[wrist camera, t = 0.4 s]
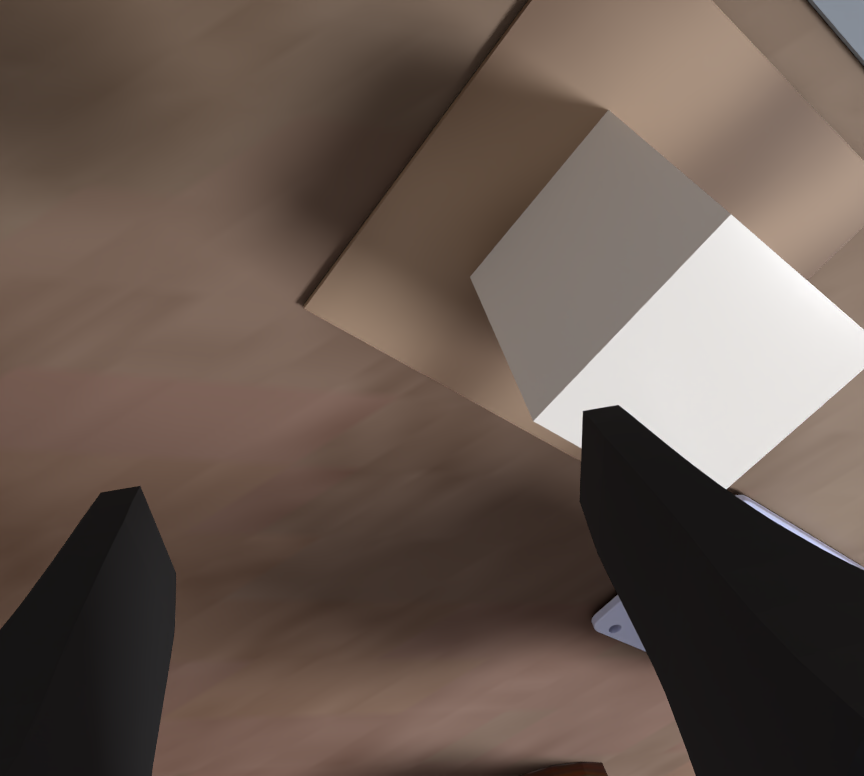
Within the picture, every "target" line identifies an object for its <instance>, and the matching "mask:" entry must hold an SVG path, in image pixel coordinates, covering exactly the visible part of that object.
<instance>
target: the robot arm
mask: <svg viewBox="0 0 864 776" xmlns="http://www.w3.org/2000/svg"><path fill="white" fill-rule="evenodd" d="M580 503H581V506H582V509H583V512H584V515H585V518H586V521H587V524H588V527H589V530H590V533H591V536H592V539H593V541H594V544H595V547H596V550H597V553H598V555H599V557H600V559H601V561H602V563H603V566H604V568H605V570H606V572H607V574H608V576H609V578H610V580H611V582H612V584H613V586H614V588H615V590H616V592H617V594H618V595H617V596H615V597H614V598H613V599H612V600H611V601H610V602H609V603H607V604H606V605H605V606H604V607H603V608H602V609H600V610H599V611H598V612H597V613H596V614H595V615H594V616H593V617H592V624H593V626H594V629H595V630H596V631H597V632H599V633H602V634H604V635H607V636H609V637H612V638H614V639H616V640H619V641H621V642H624V643H626V644H628V645H631V646H633V647H636V648H638V649H641V650H643V651H645V652H647V654H648V656H649V658H650V660H651V662H652V664H653V666H654V669H655V671H656V673H657V675H658V678H659V680H660V682H661V684H662V687H663V689H664V691H665V694H666V696H667V699H668V701H669V704H670V707H671V709H672V712H673V715H674V717H675V720H676V723H677V725H678V728H679V731H680V733H681V736H682V739H683V741H684V744H685V747H686V749H687V752H688V755H689V758H690V760H691V763H692V766H693V769H694V772H695V774H696V776H864V567H862V566H860V565H859V564H857V563H856V562H854V561H852V560H851V559H849V558H847V557H846V556H844V555H842V554H841V553H839V552H837V551H836V550H834V549H832V548H831V547H829V546H828V545H826V544H824V543H823V542H821V541H819V540H818V539H816V538H814V537H813V536H811V535H809V534H808V533H806V532H804V531H803V530H801V529H800V528H798V527H796V526H795V525H793V524H791V523H790V522H788V521H786V520H785V519H783V518H781V517H780V516H778V515H776V514H775V513H773V512H772V511H770V510H768V509H767V508H765V507H763V506H762V505H760V504H758V503H757V502H755V501H753V500H752V499H750V498H749V497H747V496H745V495H733V494H732V493H731V492H729V491H728V490H726V489H725V488H723V487H722V486H721V485H719V484H718V483H717V482H715V481H714V480H713V479H711V478H710V477H709V476H707V475H706V474H705V473H703V472H702V471H701V470H699V469H698V468H697V467H695V466H694V465H693V464H691V463H690V462H689V461H687V460H686V459H685V458H684V457H682V456H681V455H680V454H679V453H677V452H676V451H675V450H674V449H672V448H671V447H670V446H669V445H667V444H666V443H665V442H664V441H662V440H661V439H660V438H659V437H657V436H656V435H655V434H654V433H653V432H651V431H650V430H649V429H648V428H646V427H645V426H644V425H643V424H642V423H640V422H639V421H638V420H637V419H636V418H634V417H633V416H632V415H631V414H629V413H628V412H627V411H626V410H624V409H623V408H622V407H621V406H619V405H615V406H609V407H603V408H597V409H591V410H585V411H583V419H582V448H581V478H580ZM175 603H176V572H175V570H174V567H173V565H172V562H171V560H170V557H169V555H168V553H167V550H166V548H165V545H164V543H163V540H162V538H161V536H160V533H159V531H158V528H157V526H156V523H155V521H154V518H153V516H152V514H151V511H150V509H149V506H148V504H147V501H146V499H145V497H144V494H143V492H142V489H141V487H140V486H138V487H132V488H126V489H120V490H114V491H108V492H102V493H101V494H100V495H99V496H98V498H97V499H96V500H95V502H94V503H93V504H92V506H91V507H90V508H89V510H88V511H87V513H86V514H85V515H84V517H83V518H82V520H81V521H80V523H79V524H78V525H77V527H76V528H75V530H74V531H73V533H72V534H71V536H70V537H69V538H68V540H67V541H66V543H65V544H64V546H63V547H62V548H61V550H60V551H59V553H58V554H57V555H56V557H55V558H54V560H53V561H52V563H51V564H50V565H49V567H48V568H47V569H46V571H45V572H44V573H43V575H42V576H41V578H40V579H39V580H38V582H37V583H36V584H35V586H34V587H33V588H32V590H31V591H30V592H29V594H28V595H27V597H26V598H25V599H24V601H23V602H22V603H21V605H20V606H19V607H18V608H17V610H16V611H15V612H14V614H13V615H12V616H11V617H10V619H9V620H8V621H7V622H6V623H5V625H4V626H3V627H2V628H1V630H0V776H152V768H153V762H154V755H155V749H156V743H157V737H158V731H159V725H160V719H161V713H162V707H163V701H164V695H165V689H166V683H167V677H168V670H169V664H170V658H171V651H172V645H173V638H174V628H175Z"/></svg>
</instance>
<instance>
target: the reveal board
mask: <svg viewBox="0 0 864 776" xmlns="http://www.w3.org/2000/svg"><path fill="white" fill-rule="evenodd" d="M608 110H609V111H611V112H612V113H613V114H614V115H615V116H616V117H618V118H619V119H620V120H621V121H622V122H623V123H625V124H626V125H627V126H628V127H629V128H630V129H632V130H633V131H634V132H635V133H636V134H638V135H639V136H640V137H641V138H642V139H643V140H645V141H646V142H647V143H648V144H649V145H650V146H652V147H653V148H654V149H655V150H656V151H657V152H659V153H660V154H661V155H662V156H663V157H665V158H666V159H667V160H668V161H669V162H670V163H672V164H673V165H674V166H675V167H676V168H677V169H679V170H680V171H681V172H682V173H683V174H684V175H686V176H687V177H688V178H689V179H690V180H691V181H693V182H694V183H695V184H696V185H697V186H699V187H700V188H701V189H702V190H703V191H704V192H706V193H707V194H708V195H709V196H710V197H711V198H713V199H714V200H715V201H716V202H717V203H718V204H720V205H721V206H722V207H723V208H724V209H726V210H727V211H728V212H729V213H730V214H731V215H733V216H734V217H735V218H736V219H737V220H738V221H739V222H741V223H742V224H743V225H744V226H745V227H746V228H747V229H749V230H750V231H751V232H752V233H753V234H754V235H755V236H757V237H758V238H759V239H760V240H761V241H762V242H763V243H765V244H766V245H767V246H768V247H769V248H770V249H772V250H773V251H774V252H775V253H776V254H777V255H778V256H780V257H781V258H782V259H783V260H784V261H785V262H786V263H788V264H789V265H790V266H791V267H792V268H793V269H794V270H796V271H797V272H798V273H799V274H800V275H801V276H803V277H804V278H805V279H806V280H808V279H809V278H810V277H812V276H813V275H814V274H815V273H816V272H817V271H818V270H819V269H820V268H821V267H822V266H823V265H824V264H825V263H826V262H827V261H828V260H829V259H830V258H831V257H832V256H833V255H835V254H836V253H837V252H838V251H839V250H840V249H841V248H842V247H843V246H844V245H845V244H846V243H847V242H848V241H849V240H850V239H851V238H852V237H853V236H854V235H855V234H856V233H857V232H859V231H860V230H861V229H862V228H863V227H864V161H863V160H862V159H861V158H860V157H859V156H858V155H857V154H856V152H855V151H854V150H853V149H852V148H851V147H850V146H849V145H848V144H847V143H846V142H845V141H844V140H843V139H842V138H841V137H840V136H839V134H838V133H837V132H836V131H835V130H834V129H833V128H832V127H831V126H830V125H829V124H828V123H827V122H826V121H825V120H824V119H823V118H822V116H821V115H820V114H819V113H818V112H817V111H816V110H815V109H814V108H813V107H812V106H811V105H810V104H809V103H808V102H807V101H806V100H805V98H804V97H803V96H802V95H801V94H800V93H799V92H798V91H797V90H796V89H795V88H794V87H793V86H792V85H791V84H790V83H789V82H788V80H787V79H786V78H785V77H784V76H783V75H782V74H781V73H780V72H779V71H778V70H777V69H776V68H775V67H774V66H773V65H772V64H771V62H770V61H769V60H768V59H767V58H766V57H765V56H764V55H763V54H762V53H761V52H760V51H759V50H758V49H757V48H756V47H755V46H754V44H753V43H752V42H751V41H750V40H749V39H748V38H747V37H746V36H745V35H744V34H743V33H742V32H741V31H740V30H739V29H738V28H737V26H736V25H735V24H734V23H733V22H732V21H731V20H730V19H729V18H728V17H727V16H726V15H725V14H724V13H723V12H722V11H721V10H720V8H719V7H718V6H717V5H716V4H715V3H714V2H713V1H712V0H528V1H527V3H526V4H525V5H524V7H523V8H522V10H521V11H520V12H519V14H518V15H517V16H516V18H515V19H514V20H513V22H512V23H511V24H510V26H509V27H508V29H507V30H506V31H505V33H504V34H503V35H502V37H501V38H500V39H499V41H498V42H497V43H496V45H495V46H494V48H493V49H492V50H491V52H490V53H489V54H488V56H487V57H486V58H485V60H484V61H483V62H482V64H481V65H480V67H479V68H478V69H477V71H476V72H475V73H474V75H473V76H472V77H471V79H470V80H469V81H468V83H467V84H466V86H465V87H464V88H463V90H462V91H461V92H460V94H459V95H458V96H457V98H456V99H455V100H454V102H453V103H452V105H451V106H450V107H449V109H448V110H447V111H446V113H445V114H444V115H443V117H442V118H441V119H440V121H439V122H438V124H437V125H436V126H435V128H434V129H433V130H432V132H431V133H430V134H429V136H428V137H427V138H426V140H425V141H424V143H423V144H422V145H421V147H420V148H419V149H418V151H417V152H416V153H415V155H414V156H413V157H412V159H411V160H410V162H409V163H408V164H407V166H406V167H405V168H404V170H403V171H402V172H401V174H400V175H399V176H398V178H397V179H396V181H395V182H394V183H393V185H392V186H391V187H390V189H389V190H388V191H387V193H386V194H385V195H384V197H383V198H382V200H381V201H380V202H379V204H378V205H377V206H376V208H375V209H374V210H373V212H372V213H371V214H370V216H369V217H368V219H367V220H366V221H365V223H364V224H363V225H362V227H361V228H360V229H359V231H358V232H357V233H356V235H355V236H354V238H353V239H352V240H351V242H350V243H349V244H348V246H347V247H346V248H345V250H344V251H343V252H342V254H341V255H340V257H339V258H338V259H337V261H336V262H335V263H334V265H333V266H332V267H331V269H330V270H329V271H328V273H327V274H326V276H325V277H324V278H323V280H322V281H321V282H320V284H319V285H318V286H317V288H316V289H315V290H314V292H313V293H312V295H311V296H310V297H309V299H308V300H307V301H306V303H305V304H304V309H305V310H307V311H309V312H311V313H313V314H314V315H316V316H318V317H320V318H322V319H323V320H325V321H327V322H329V323H331V324H333V325H334V326H336V327H338V328H340V329H342V330H343V331H345V332H347V333H349V334H351V335H352V336H354V337H356V338H358V339H360V340H362V341H363V342H365V343H367V344H369V345H371V346H372V347H374V348H376V349H378V350H380V351H381V352H383V353H385V354H387V355H389V356H391V357H392V358H394V359H396V360H398V361H400V362H401V363H403V364H405V365H407V366H409V367H410V368H412V369H414V370H416V371H418V372H420V373H421V374H423V375H425V376H427V377H429V378H430V379H432V380H434V381H436V382H438V383H439V384H441V385H443V386H445V387H447V388H449V389H450V390H452V391H454V392H456V393H458V394H459V395H461V396H463V397H465V398H467V399H468V400H470V401H472V402H474V403H476V404H477V405H479V406H481V407H483V408H485V409H487V410H488V411H490V412H492V413H494V414H496V415H497V416H499V417H501V418H503V419H505V420H506V421H508V422H510V423H512V424H514V425H516V426H517V427H519V428H521V429H523V430H525V431H526V432H528V433H530V434H532V435H534V436H535V437H537V438H539V439H541V440H543V441H545V442H546V443H548V444H550V445H552V446H554V447H555V448H557V449H559V450H561V451H563V452H564V453H566V454H568V455H570V456H572V457H574V458H575V459H577V460H579V461H581V448H580V447H578V446H576V445H575V444H573V443H571V442H569V441H567V440H566V439H564V438H562V437H560V436H559V435H557V434H555V433H553V432H551V431H550V430H548V429H546V428H544V427H543V426H541V425H539V424H537V423H535V422H534V421H533V420H532V417H531V415H530V413H529V410H528V408H527V406H526V404H525V401H524V399H523V397H522V394H521V392H520V390H519V388H518V385H517V383H516V381H515V379H514V376H513V374H512V372H511V369H510V367H509V365H508V363H507V360H506V358H505V356H504V353H503V351H502V349H501V347H500V344H499V342H498V340H497V338H496V335H495V333H494V331H493V328H492V326H491V324H490V322H489V319H488V317H487V315H486V313H485V310H484V308H483V306H482V303H481V301H480V299H479V297H478V294H477V292H476V290H475V287H474V285H473V283H472V281H471V278H470V276H471V275H472V274H473V273H474V271H475V270H476V269H477V268H478V267H479V265H480V264H481V263H482V262H483V261H484V259H485V258H486V257H487V256H488V255H489V253H490V252H491V251H492V250H493V249H494V247H495V246H496V245H497V244H498V242H499V241H500V240H501V239H502V238H503V236H504V235H505V234H506V233H507V232H508V230H509V229H510V228H511V227H512V226H513V224H514V223H515V222H516V221H517V220H518V218H519V217H520V216H521V215H522V214H523V212H524V211H525V210H526V209H527V208H528V206H529V205H530V204H531V203H532V201H533V200H534V199H535V198H536V197H537V195H538V194H539V193H540V192H541V191H542V189H543V188H544V187H545V186H546V185H547V183H548V182H549V181H550V180H551V179H552V177H553V176H554V175H555V174H556V173H557V171H558V170H559V169H560V168H561V166H562V165H563V164H564V163H565V162H566V160H567V159H568V158H569V157H570V156H571V154H572V153H573V152H574V151H575V150H576V148H577V147H578V146H579V145H580V144H581V142H582V141H583V140H584V139H585V138H586V136H587V135H588V134H589V133H590V131H591V130H592V129H593V128H594V127H595V125H596V124H597V123H598V122H599V121H600V119H601V118H602V117H603V116H604V115H605V113H606V112H607V111H608Z"/></svg>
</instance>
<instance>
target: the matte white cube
mask: <svg viewBox="0 0 864 776" xmlns="http://www.w3.org/2000/svg"><path fill="white" fill-rule="evenodd" d="M470 278H471V281H472V283H473V285H474V287H475V290H476V292H477V294H478V297H479V299H480V301H481V303H482V306H483V308H484V310H485V313H486V315H487V317H488V319H489V322H490V324H491V326H492V328H493V331H494V333H495V335H496V338H497V340H498V342H499V344H500V347H501V349H502V351H503V353H504V356H505V358H506V360H507V363H508V365H509V367H510V369H511V372H512V374H513V376H514V379H515V381H516V383H517V385H518V388H519V390H520V392H521V394H522V397H523V399H524V401H525V404H526V406H527V408H528V410H529V413H530V415H531V417H532V420H533V421H534V422H535V423H537V424H539V425H541V426H543V427H544V428H546V429H548V430H550V431H551V432H553V433H555V434H557V435H559V436H560V437H562V438H564V439H566V440H567V441H569V442H571V443H573V444H575V445H576V446H578V447H580V448H582V419H583V411H585V410H591V409H597V408H603V407H609V406H615V405H619V406H621V407H622V408H623V409H624V410H626V411H627V412H628V413H629V414H631V415H632V416H633V417H634V418H636V419H637V420H638V421H639V422H640V423H642V424H643V425H644V426H645V427H646V428H648V429H649V430H650V431H651V432H653V433H654V434H655V435H656V436H657V437H659V438H660V439H661V440H662V441H664V442H665V443H666V444H667V445H669V446H670V447H671V448H672V449H674V450H675V451H676V452H677V453H679V454H680V455H681V456H682V457H684V458H685V459H686V460H687V461H689V462H690V463H691V464H693V465H694V466H695V467H697V468H698V469H699V470H701V471H702V472H703V473H705V474H706V475H707V476H709V477H710V478H711V479H713V480H714V481H715V482H717V483H718V484H719V485H721V486H722V487H723V488H725V489H727V488H728V487H729V486H730V485H732V484H733V483H734V482H735V481H736V480H737V479H738V478H740V477H741V476H742V475H743V474H744V473H745V472H746V471H748V470H749V469H750V468H751V467H752V466H753V465H754V464H756V463H757V462H758V461H759V460H760V459H761V458H762V457H764V456H765V455H766V454H767V453H768V452H769V451H770V450H772V449H773V448H774V447H775V446H776V445H777V444H778V443H780V442H781V441H782V440H783V439H784V438H785V437H786V436H788V435H789V434H790V433H791V432H792V431H793V430H794V429H796V428H797V427H798V426H799V425H800V424H801V423H803V422H804V421H805V420H806V419H807V418H808V417H809V416H811V415H812V414H813V413H814V412H815V411H816V410H817V409H819V408H820V407H821V406H822V405H823V404H824V403H825V402H827V401H828V400H829V399H830V398H831V397H832V396H833V395H835V394H836V393H837V392H838V391H839V390H840V389H841V388H843V387H844V386H845V385H846V384H847V383H848V382H849V381H851V380H852V379H853V378H854V377H855V376H856V375H857V374H859V373H860V372H861V371H862V370H863V369H864V330H863V329H862V328H861V327H860V326H859V325H858V324H856V323H855V322H854V321H853V320H852V319H851V318H850V317H848V316H847V315H846V314H845V313H844V312H843V311H842V310H840V309H839V308H838V307H837V306H836V305H835V304H834V303H832V302H831V301H830V300H829V299H828V298H827V297H825V296H824V295H823V294H822V293H821V292H820V291H819V290H817V289H816V288H815V287H814V286H813V285H812V284H811V283H809V282H808V281H807V280H806V279H805V278H804V277H803V276H801V275H800V274H799V273H798V272H797V271H796V270H794V269H793V268H792V267H791V266H790V265H789V264H788V263H786V262H785V261H784V260H783V259H782V258H781V257H780V256H778V255H777V254H776V253H775V252H774V251H773V250H772V249H770V248H769V247H768V246H767V245H766V244H765V243H763V242H762V241H761V240H760V239H759V238H758V237H757V236H755V235H754V234H753V233H752V232H751V231H750V230H749V229H747V228H746V227H745V226H744V225H743V224H742V223H741V222H739V221H738V220H737V219H736V218H735V217H734V216H733V215H731V214H730V213H729V212H728V211H727V210H726V209H724V208H723V207H722V206H721V205H720V204H718V203H717V202H716V201H715V200H714V199H713V198H711V197H710V196H709V195H708V194H707V193H706V192H704V191H703V190H702V189H701V188H700V187H699V186H697V185H696V184H695V183H694V182H693V181H691V180H690V179H689V178H688V177H687V176H686V175H684V174H683V173H682V172H681V171H680V170H679V169H677V168H676V167H675V166H674V165H673V164H672V163H670V162H669V161H668V160H667V159H666V158H665V157H663V156H662V155H661V154H660V153H659V152H657V151H656V150H655V149H654V148H653V147H652V146H650V145H649V144H648V143H647V142H646V141H645V140H643V139H642V138H641V137H640V136H639V135H638V134H636V133H635V132H634V131H633V130H632V129H630V128H629V127H628V126H627V125H626V124H625V123H623V122H622V121H621V120H620V119H619V118H618V117H616V116H615V115H614V114H613V113H612V112H611V111H609V110H608V111H607V112H606V113H605V115H604V116H603V117H602V118H601V119H600V121H599V122H598V123H597V124H596V125H595V127H594V128H593V129H592V130H591V131H590V133H589V134H588V135H587V136H586V138H585V139H584V140H583V141H582V142H581V144H580V145H579V146H578V147H577V148H576V150H575V151H574V152H573V153H572V154H571V156H570V157H569V158H568V159H567V160H566V162H565V163H564V164H563V165H562V166H561V168H560V169H559V170H558V171H557V173H556V174H555V175H554V176H553V177H552V179H551V180H550V181H549V182H548V183H547V185H546V186H545V187H544V188H543V189H542V191H541V192H540V193H539V194H538V195H537V197H536V198H535V199H534V200H533V201H532V203H531V204H530V205H529V206H528V208H527V209H526V210H525V211H524V212H523V214H522V215H521V216H520V217H519V218H518V220H517V221H516V222H515V223H514V224H513V226H512V227H511V228H510V229H509V230H508V232H507V233H506V234H505V235H504V236H503V238H502V239H501V240H500V241H499V242H498V244H497V245H496V246H495V247H494V249H493V250H492V251H491V252H490V253H489V255H488V256H487V257H486V258H485V259H484V261H483V262H482V263H481V264H480V265H479V267H478V268H477V269H476V270H475V271H474V273H473V274H472V275H471V276H470Z"/></svg>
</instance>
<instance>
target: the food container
mask: <svg viewBox="0 0 864 776" xmlns="http://www.w3.org/2000/svg"><path fill="white" fill-rule="evenodd" d="M520 776H608V775H607V773H606V771H605V768H604V766H603V764H602V763H594V762H578V763H570V764H563V765H555V766H549V767H546V768H543V769H539V770H536V771H533V772H529V773H526V774H523V775H520Z"/></svg>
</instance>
